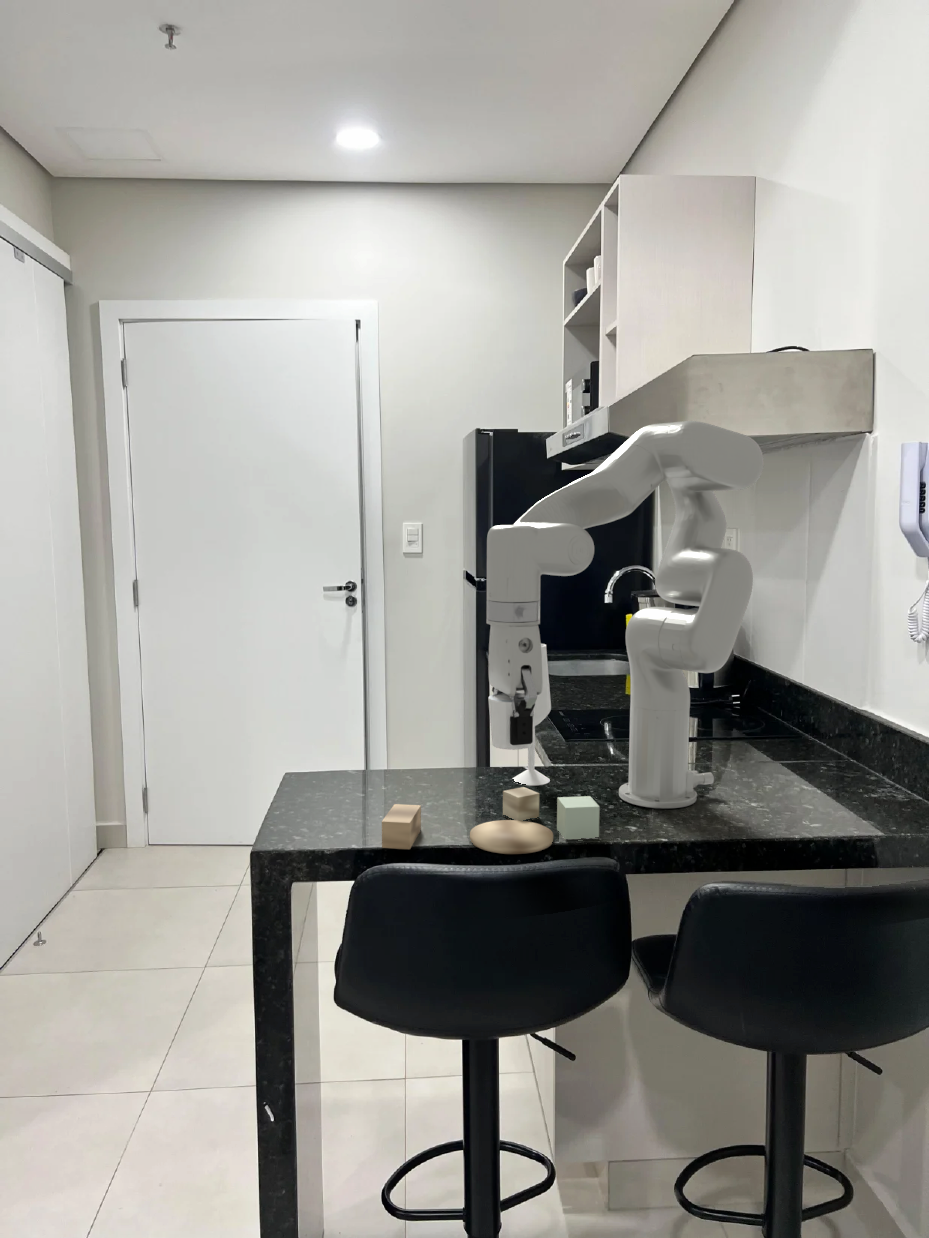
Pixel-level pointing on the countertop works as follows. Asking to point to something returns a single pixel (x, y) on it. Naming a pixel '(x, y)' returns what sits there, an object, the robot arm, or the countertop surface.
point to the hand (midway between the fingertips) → (512, 737)
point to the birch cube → (521, 803)
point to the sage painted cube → (577, 817)
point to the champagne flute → (540, 714)
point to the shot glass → (503, 721)
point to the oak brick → (401, 826)
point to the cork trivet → (511, 837)
